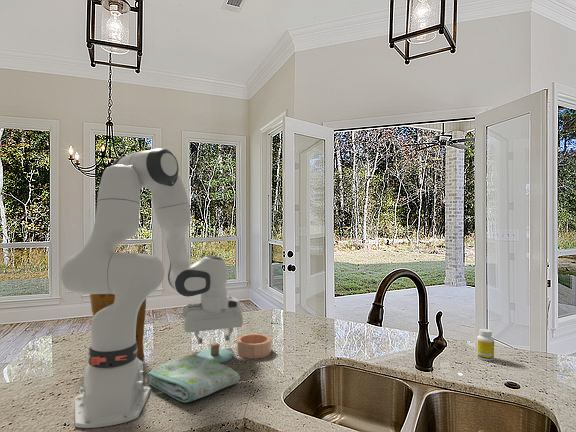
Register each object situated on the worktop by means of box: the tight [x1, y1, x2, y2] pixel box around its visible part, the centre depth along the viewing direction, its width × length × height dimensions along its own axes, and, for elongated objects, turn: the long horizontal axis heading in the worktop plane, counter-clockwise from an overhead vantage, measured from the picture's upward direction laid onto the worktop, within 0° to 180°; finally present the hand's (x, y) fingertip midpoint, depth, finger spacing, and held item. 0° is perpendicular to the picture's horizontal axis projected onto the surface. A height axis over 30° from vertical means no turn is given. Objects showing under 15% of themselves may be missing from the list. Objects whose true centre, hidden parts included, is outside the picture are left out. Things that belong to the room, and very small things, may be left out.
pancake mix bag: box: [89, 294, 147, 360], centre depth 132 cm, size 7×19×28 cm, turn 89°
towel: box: [147, 354, 241, 403], centre depth 112 cm, size 18×21×5 cm
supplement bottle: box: [476, 328, 495, 362], centre depth 135 cm, size 5×5×10 cm
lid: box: [197, 342, 233, 364], centre depth 133 cm, size 12×12×4 cm
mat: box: [192, 348, 240, 365], centre depth 133 cm, size 14×14×1 cm
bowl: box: [235, 333, 272, 359], centre depth 139 cm, size 12×12×5 cm
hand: (213, 341), depth 134 cm, fingers open, 8 cm apart
